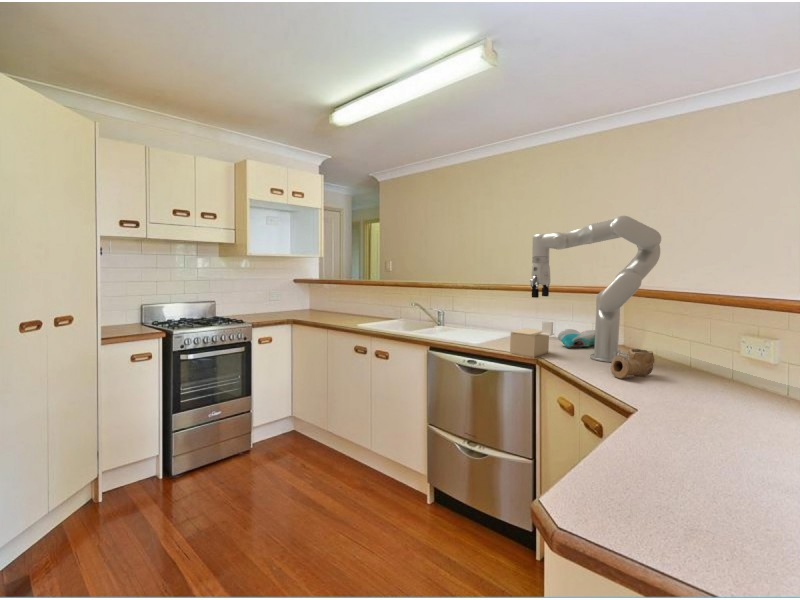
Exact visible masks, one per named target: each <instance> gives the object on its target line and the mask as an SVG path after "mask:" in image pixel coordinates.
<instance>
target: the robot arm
mask: <svg viewBox="0 0 800 600" xmlns="http://www.w3.org/2000/svg"><path fill="white" fill-rule="evenodd" d="M620 238H623V239H624V240H626V241H628V242H630V243H632V244H634V245H635V246H636V248H637V253H636V254H635V256H634V257H633V258H632V260H631V261H629V262H628V263H627V265H626V266H625V267H624V268H623V269H621V271H620V272H618V273H617V274H616V275H615V278H614V279H613V280H612V281H611V282H610V283H609V284H608V285H607V287H605V289H602V290H600V292H599V293H598V294H597V296H596V300H595V306H596V307H595V328H594V330H595V344H594V345H593V346H594V347H593V353H592V354H590V356H589V358H590V359H591V360H593V361H599V362H605V363H611V362H612V360H613V358H614V357H616V356H623V357H625V358H626V359H629V354H627V353H624V352H623V353H622V352H621V350H620V349H619V337H620V324H621V323H620V320H621V307H622V306H624V304H626V303H627V301H629V300H630V299H631V298H632V297H633V296H634V294H636V292H637V291H638V290H639V289H640V287H641V285H642V281H643V280H644V279H645V278H646V277H647V276H648V274H649V273H650V272H651V271H652V270H653V269H654V268H655V266H656V265H657V264H658V263H659V262H658V261H659V260H660V258H661V245H660V244H661V242H662V235H661V233H660V232H659V231H658V230H656V229H655V228H653V227H650V226H648V225H647V224H646V223H645V224H644V223H643V222H640V221H638V220H636V219H635V218H633V217H630V216H629V215H620V216H618V217H615V218H613V219H608V220H604V221H600V222H595V223H590V224H587V225H585V226H583V227H581V228H578V229H575V230H571V231H567V232H552V233H551V232H550V233H537V234H534V235H532V248H531V249H532V252H531V253H532V254H531V255H532V259H531V260H532V262H531V264H532V269H531V278H530V280H529V282H530V289H531V298H533V299H534V298H536V299H537V298H539V297H540V296H539V295H540V289H539V287H540V285H541V296H542V297H549V294H550V292H549V291H550V289H549V288H550V284H551V266H550V249H554V250H564V249H570V248H574V247H578V246H579V247H581V246H585V245H592V244H596V243H601V242H605V241H611V240H615V239H620Z"/></svg>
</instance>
